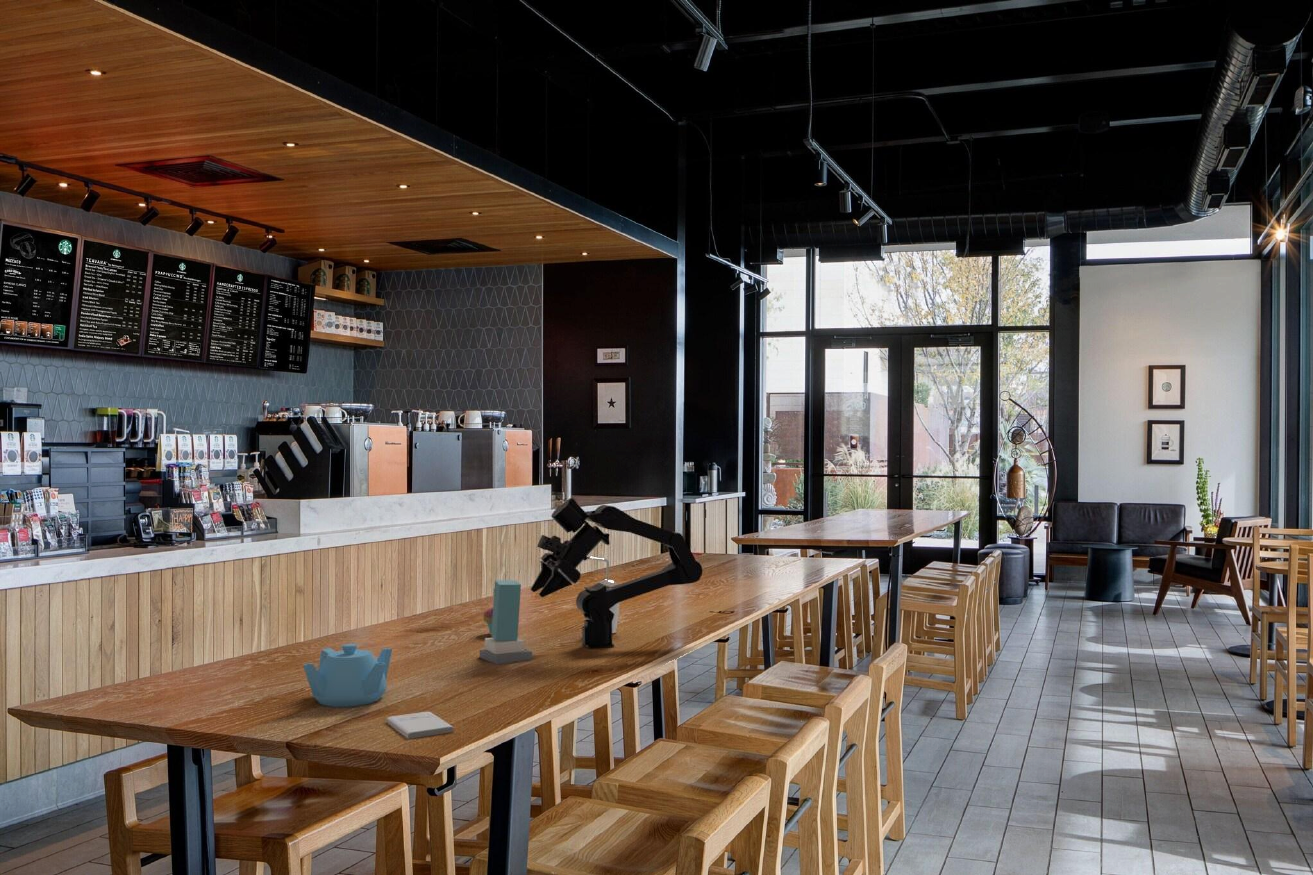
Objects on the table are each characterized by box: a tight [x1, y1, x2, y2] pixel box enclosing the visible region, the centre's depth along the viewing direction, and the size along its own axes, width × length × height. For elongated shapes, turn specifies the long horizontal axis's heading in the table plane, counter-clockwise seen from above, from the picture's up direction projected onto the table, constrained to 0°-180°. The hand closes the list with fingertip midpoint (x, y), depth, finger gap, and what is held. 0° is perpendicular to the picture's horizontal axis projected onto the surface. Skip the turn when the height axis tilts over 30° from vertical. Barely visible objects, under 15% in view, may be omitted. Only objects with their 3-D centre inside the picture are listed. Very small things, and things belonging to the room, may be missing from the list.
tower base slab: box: [479, 648, 533, 665], centre depth 246 cm, size 9×9×2 cm
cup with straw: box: [587, 556, 621, 634], centre depth 279 cm, size 8×9×20 cm
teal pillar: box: [490, 579, 522, 641], centre depth 246 cm, size 5×5×13 cm
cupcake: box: [483, 588, 494, 635], centre depth 277 cm, size 9×8×12 cm
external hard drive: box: [386, 711, 455, 740], centre depth 187 cm, size 2×8×12 cm
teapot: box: [302, 643, 393, 708], centre depth 208 cm, size 15×15×11 cm
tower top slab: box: [484, 637, 525, 654], centre depth 246 cm, size 7×7×2 cm
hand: (536, 593), depth 256 cm, fingers open, 9 cm apart
